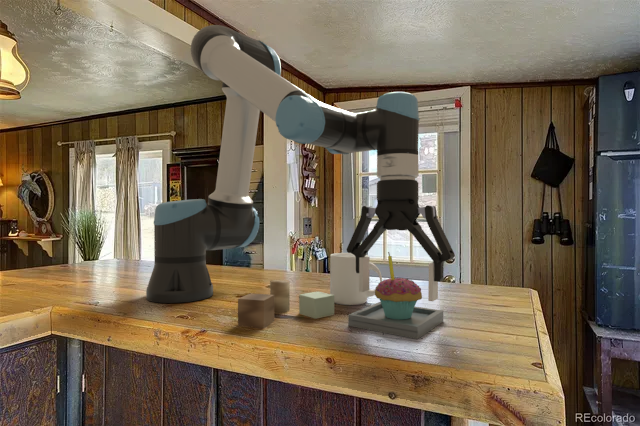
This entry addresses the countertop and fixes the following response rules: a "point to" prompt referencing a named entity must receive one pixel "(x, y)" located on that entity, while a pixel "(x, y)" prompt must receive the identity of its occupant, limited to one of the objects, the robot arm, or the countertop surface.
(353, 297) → the mug
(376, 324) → the tray
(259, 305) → the walnut block
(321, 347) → the countertop surface
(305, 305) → the sage block
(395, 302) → the cupcake
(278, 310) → the oak cylinder
